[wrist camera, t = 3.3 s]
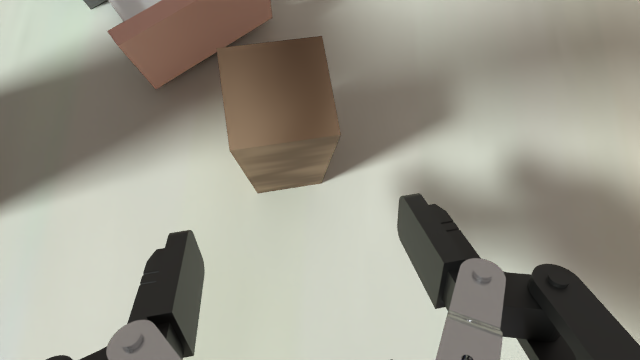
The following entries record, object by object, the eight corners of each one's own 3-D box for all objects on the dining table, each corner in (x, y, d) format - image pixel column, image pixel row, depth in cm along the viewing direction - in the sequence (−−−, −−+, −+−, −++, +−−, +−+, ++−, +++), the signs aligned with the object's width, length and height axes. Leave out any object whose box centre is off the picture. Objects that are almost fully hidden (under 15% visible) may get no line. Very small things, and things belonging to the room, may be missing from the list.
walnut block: (257, 193, 27) (229, 150, 16) (249, 132, 28) (216, 48, 16) (321, 183, 28) (340, 134, 16) (310, 123, 29) (321, 35, 17)
